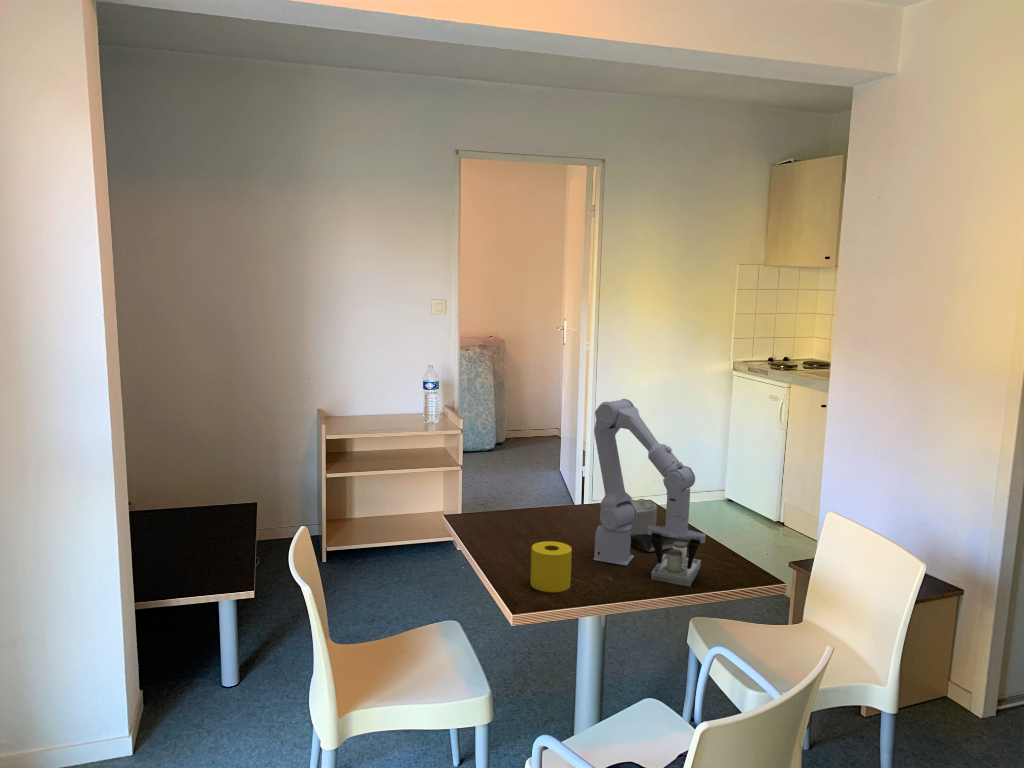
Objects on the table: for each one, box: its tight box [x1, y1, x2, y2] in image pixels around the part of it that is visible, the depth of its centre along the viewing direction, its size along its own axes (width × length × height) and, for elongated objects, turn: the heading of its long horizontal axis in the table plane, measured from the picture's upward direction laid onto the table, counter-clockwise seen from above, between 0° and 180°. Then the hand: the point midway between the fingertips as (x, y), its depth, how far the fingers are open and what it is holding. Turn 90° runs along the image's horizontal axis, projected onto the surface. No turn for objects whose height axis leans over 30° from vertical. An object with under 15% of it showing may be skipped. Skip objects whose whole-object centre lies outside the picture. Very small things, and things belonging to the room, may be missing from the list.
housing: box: [650, 553, 702, 587], centre depth 198 cm, size 10×15×2 cm, turn 156°
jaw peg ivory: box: [672, 542, 688, 565], centre depth 201 cm, size 4×4×6 cm
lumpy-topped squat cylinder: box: [631, 498, 658, 536], centre depth 235 cm, size 10×13×9 cm
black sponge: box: [630, 533, 689, 553], centre depth 219 cm, size 16×8×4 cm, turn 117°
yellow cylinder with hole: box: [529, 541, 573, 593], centre depth 188 cm, size 10×10×9 cm
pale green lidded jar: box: [667, 548, 682, 573], centre depth 194 cm, size 4×4×6 cm
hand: (674, 564), depth 195 cm, fingers open, 7 cm apart
